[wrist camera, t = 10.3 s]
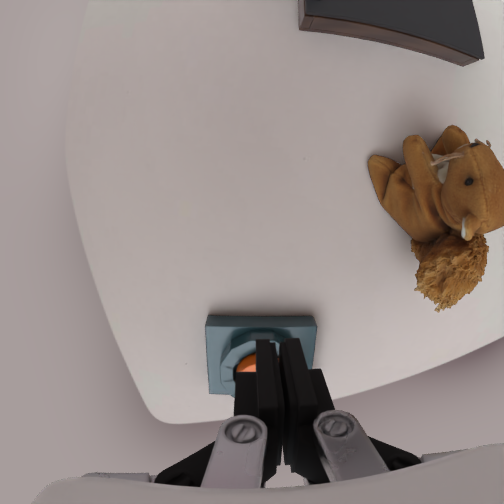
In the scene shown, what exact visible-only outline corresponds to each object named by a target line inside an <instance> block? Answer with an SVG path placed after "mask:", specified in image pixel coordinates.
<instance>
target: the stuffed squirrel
mask: <svg viewBox="0 0 504 504" xmlns="http://www.w3.org/2000/svg"><path fill="white" fill-rule="evenodd" d="M486 143H487V144H488V145H489V146H487V145H485V144H484V143H482V142H480V141H479V140H478V139H475V143H471V144H470V142H469V139H468V137H467V135H466V134H465V132H464V131H462V130H461V129H460V128H459V127H457V126H454V125H451V126H448V127H447V128H446V129H445V130H444V132H443V134H442V136H441V137H440V139H439V140H438V141H437V143H436V145H435V146H434V148H433V149H432V151H431V152H430V150H429V148H428V146H427V145H426V143H425V141H424V140H423V139H422V138H421V137H420V136H419V135H410V136H408V137H407V138H405V140H404V142H403V155H404V159H405V163H406V164H403V165H401V164H399V163H397V162H395V161H393V160H391V159H389V158H386V157H383V156H378V155H373V156H371V157H370V159H369V160H368V168H369V173H370V177H371V180H372V182H373V185H374V188H375V191H376V194H377V196H378V199H379V201H380V204H381V205H382V207H383V208H384V209H385V210H386V211H387V212H388V213H389V214H390V215H391V217H392V218H393V219H394V220H395V221H396V222H397V223H398V224H399V225H400V226H401V227H402V228H403V229H404V230H405V231H406V232H407V233H408V234H409V235H410V236H411V237H412V240H411V247H412V248H411V249H412V250H411V252H414V253H415V256H416V258H417V259H418V260H419V261H420V265H419V269H418V270H417V274H415V277H416V278H417V288H415V289H414V291H421V293H424V299H425V297H428V298H429V299H430V300H431V301H432V300H433V301H434V303H435V305H436V304H437V303H439V305H438V307H437V308H436V309H435V310H434V311H437V312H438V313H439V312H440V309H443V311H444V309H445V308H446V307H447V308H451V306H452V305H456V303H457V301H458V300H460V299H461V298H462V297H463V296H464V295H465V294H467V293H468V294H470V291H472V290H473V289H474V287H475V286H476V285H477V284H478V281H481V282H482V278H481V276H483V275H484V271H485V269H484V268H485V267H486V264H487V252H488V251H489V250H488V248H489V246H487V245H486V244H485V243H486V241H485V240H486V238H484V237H483V236H484V235H483V234H485V233H488V232H491V231H493V230H496V229H498V228H500V227H503V226H504V169H503V167H502V166H501V164H500V163H499V161H498V160H497V158H496V156H495V155H494V153H493V151H492V150H491V149H490V147H491V144H490V143H489V141H488V140H486ZM488 253H489V252H488Z"/></svg>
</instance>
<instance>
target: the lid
mask: <svg viewBox="0 0 504 504" xmlns="http://www.w3.org/2000/svg"><path fill="white" fill-rule="evenodd" d="M305 13H306V14H307V15H316V16H324V17H331V18H338V19H344V20H350V21H356V22H361V23H366V24H371V25H375V26H380V27H384V28H388V29H392V30H396V31H400V32H404V33H408V34H411V35H415V36H418V37H421V38H425V39H428V40H431V41H434V42H437V43H440V44H443V45H446V46H448V47H451V48H454V49H457V50H459V51H462V52H464V53H467V54H469V55H472V56H474V57H477V58H479V59H481V60H482V59H484V58H485V57H484V52H483V46H482V41H481V36H480V31H479V26H478V22H477V18H476V14H475V10H474V6H473V2H472V0H305Z"/></svg>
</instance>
